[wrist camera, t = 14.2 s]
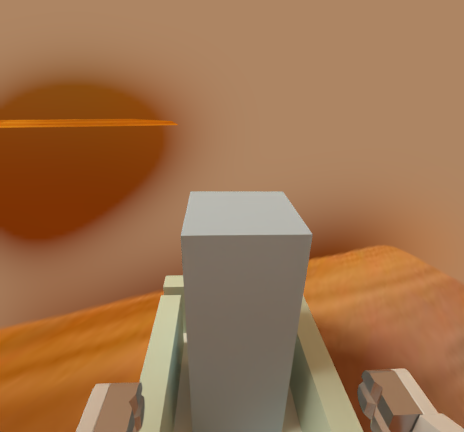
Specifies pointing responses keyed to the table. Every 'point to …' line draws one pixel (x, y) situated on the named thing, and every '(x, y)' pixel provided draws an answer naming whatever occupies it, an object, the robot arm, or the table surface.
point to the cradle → (300, 386)
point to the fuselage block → (242, 306)
